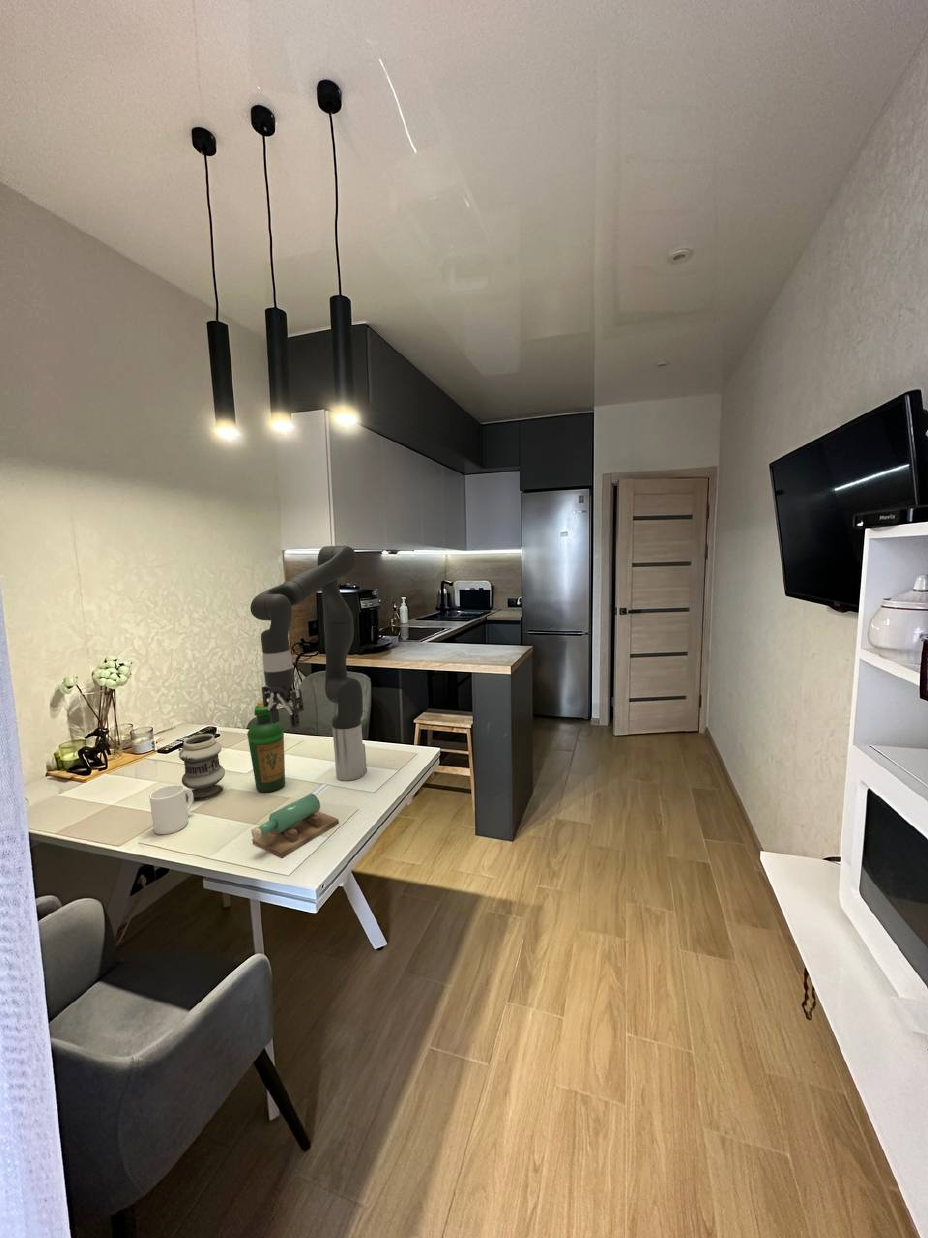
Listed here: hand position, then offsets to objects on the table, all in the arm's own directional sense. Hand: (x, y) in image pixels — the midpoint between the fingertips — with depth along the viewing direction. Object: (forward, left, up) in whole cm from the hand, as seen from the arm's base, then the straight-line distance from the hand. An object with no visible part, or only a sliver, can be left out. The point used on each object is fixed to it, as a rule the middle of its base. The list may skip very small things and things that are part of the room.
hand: (285, 724), depth 137 cm
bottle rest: (+6, +9, -27) cm, 28 cm away
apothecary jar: (+6, -36, -27) cm, 45 cm away
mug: (+20, -25, -27) cm, 42 cm away
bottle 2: (+8, +9, -23) cm, 26 cm away
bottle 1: (-7, -21, -27) cm, 35 cm away
